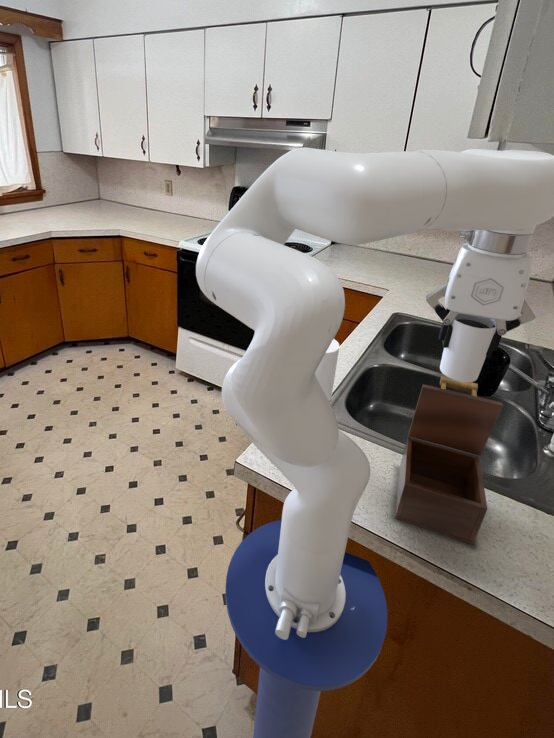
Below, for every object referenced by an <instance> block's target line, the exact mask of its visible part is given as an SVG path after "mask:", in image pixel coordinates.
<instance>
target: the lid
mask: <svg viewBox="0 0 554 738" xmlns="http://www.w3.org/2000/svg"><path fill="white" fill-rule="evenodd" d="M439 386H440V387H437V386H433V385H428V384H425V383H424V384H422V386H421V389H420V393H419V396H418V399H417V403H416V406H415V409H414V413H413V417H412V421H411V423H410V427H409V430H408V434H407V437H411V438H415V439H419V440H422V441H426V442H430V443H433V444H437V445H440V446H444V447H448V448H451V449H455V450H459V451H462V452H466V453H469V454H473V455H477V456H482V453H483V451H484V448H485V447H486V444H487V442H488V440H489V438H490V436H491V434H492V431H493V429H494V427H495V425H496V424H497V420H498V419H499V416H500V414H501V412H502V409H503V408H504V403H503V402H502V401H498V400H493V399H488V398H484V397H480V396H477V395H478V394H477V393H478V388H479V384H478V382H477V383H476V382H461V381H456V380H454V379H451V378H449V377H447V376H446V375H441V376H440V379H439ZM447 388H450V389H447ZM451 389H454V390H451ZM455 390H459V391H463V392H468V393H470V394H466V393H463V392H458V391H455Z"/></svg>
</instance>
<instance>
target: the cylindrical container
mask: <svg viewBox="0 0 554 738" xmlns="http://www.w3.org/2000/svg"><path fill="white" fill-rule="evenodd" d="M339 352H340V343H339V342H338V341H337V340H336V339H335V338H334V339H333V341H332V342H331V344H330V346H329V348H328V349H327V351H326V353H325V355H324V357H323V358H322V360H321V362H320V364H319V366H318V368H317V370H316V372H315V375H316V377H317V380H318V382H319V383H320V385H321V387H322V389H323V391H324V393H325V395H326V397H327V399H328V400H329V402H330V404H331V403H332V396H333V389H334V384H335V379H336V371H337V364H338V357H339Z"/></svg>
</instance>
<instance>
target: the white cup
mask: <svg viewBox="0 0 554 738" xmlns="http://www.w3.org/2000/svg"><path fill="white" fill-rule="evenodd" d="M451 325H452V327H453V330H452V335H451V339H450V342H449V345H448V347H447V348H444V347H443V351H442V354H441V355H442V356H441V360H440V364H439V371H440V372H441V374H442V375H443V376H445V377H449V378H451V379H454V380H456V381H461V382H472V383H474V382H476V381H477V380H478V378H479V376H480V374H481V371H482V368H483V365H484V363H485V360H486V357H487V356H486V353H487V350H488V348H489V345H490V343H491V340H492V338H493V335H494V334H495V332H496V329H497V326H496V321H495V320H494V319H491V318H485V317H479V316H473V315H468V314H462V313H459V314H458V315H457V316H456V318H455V319H454V320H453V322H452V323H451ZM493 325H495V327H494V328H492V327H493Z"/></svg>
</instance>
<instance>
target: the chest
mask: <svg viewBox="0 0 554 738" xmlns="http://www.w3.org/2000/svg"><path fill="white" fill-rule="evenodd" d="M480 456H481V455H480ZM480 456H479V455H475V454H472V453H468V452H464V451H461V450H457V449H454V448H450V447H446V446H443V445H439V444H435V443H432V442H428V441H425V440H421V439H417V438H414V437H410V436H407V438H406V441H405V445H404V450H403V454H402V456H401V461H400V465H399V469H398V478H397V490H396V502H395V503H396V504H395V505H396V506H395V515H394V519H395V520H399V521H402V522H405V523H407V524H411V525H413V526H416V527H419V528H422V529H425V530H427V531H431V532H433V533H437V534H439V535H442V536H445V537H448V538H452V539H454V540H458V541H460V542H463V543H466V544H469V545H474V543H475V541H476V538H477V536H478V533H479V531H480V529H481V526H482V524H483V521H484V519H485V516H486V514H487V511H488V504H487V499H486V498H487V496H486V491H485V490H486V489H485V484H484V477H483V470H482V464H481V457H480Z"/></svg>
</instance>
